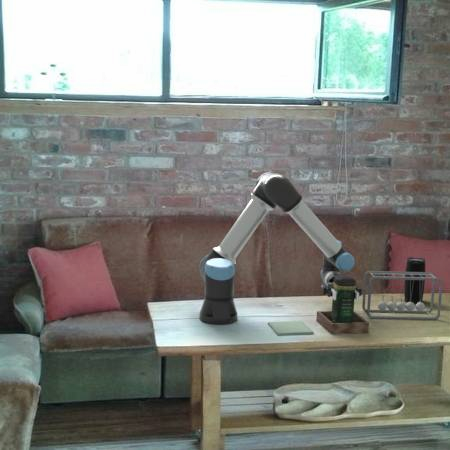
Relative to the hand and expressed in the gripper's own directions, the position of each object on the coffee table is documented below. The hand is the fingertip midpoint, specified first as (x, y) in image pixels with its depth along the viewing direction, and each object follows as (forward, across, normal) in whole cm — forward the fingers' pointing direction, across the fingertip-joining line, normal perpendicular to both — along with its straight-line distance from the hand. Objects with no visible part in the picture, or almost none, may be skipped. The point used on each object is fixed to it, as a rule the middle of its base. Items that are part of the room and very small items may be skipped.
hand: (346, 296), depth 265 cm
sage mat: (-1, +21, -14) cm, 25 cm away
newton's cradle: (-21, -28, -13) cm, 37 cm away
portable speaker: (-43, -40, -13) cm, 60 cm away
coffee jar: (-5, 0, -11) cm, 12 cm away
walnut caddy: (-5, 0, -13) cm, 14 cm away
